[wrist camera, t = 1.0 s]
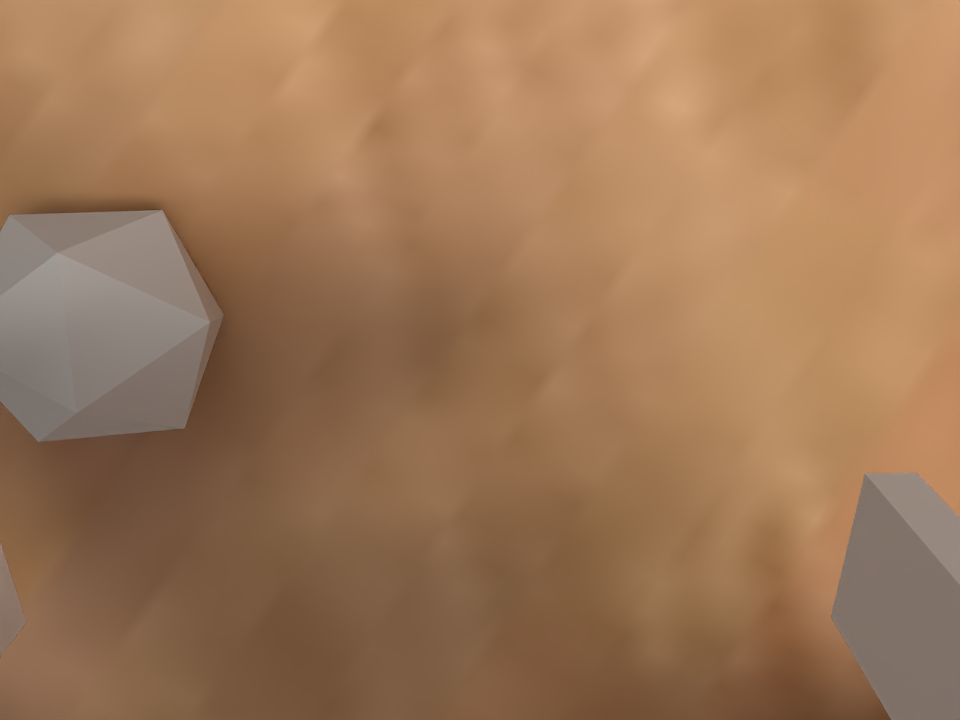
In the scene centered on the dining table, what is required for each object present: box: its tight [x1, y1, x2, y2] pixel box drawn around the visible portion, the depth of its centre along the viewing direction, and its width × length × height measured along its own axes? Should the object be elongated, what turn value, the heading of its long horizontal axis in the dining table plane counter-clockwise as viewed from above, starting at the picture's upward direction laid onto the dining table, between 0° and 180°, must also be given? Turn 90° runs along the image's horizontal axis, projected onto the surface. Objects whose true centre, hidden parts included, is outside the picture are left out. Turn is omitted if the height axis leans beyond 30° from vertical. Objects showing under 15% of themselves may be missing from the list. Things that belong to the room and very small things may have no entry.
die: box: [0, 210, 224, 442], centre depth 28 cm, size 8×9×10 cm
